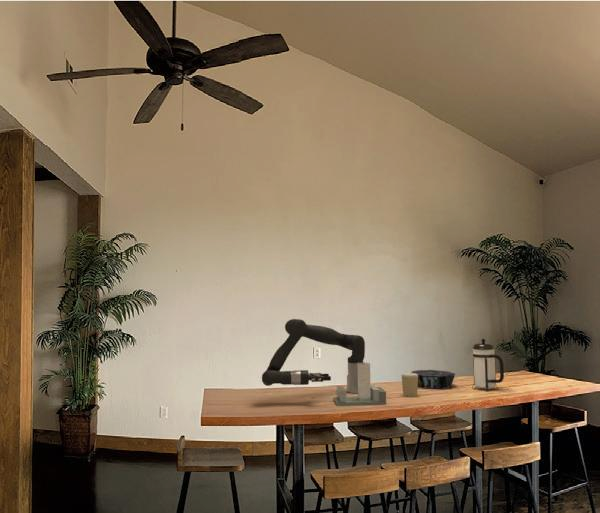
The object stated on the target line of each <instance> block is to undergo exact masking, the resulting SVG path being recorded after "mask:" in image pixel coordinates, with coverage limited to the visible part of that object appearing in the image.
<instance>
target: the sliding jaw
mask: <svg viewBox="0 0 600 513" xmlns="http://www.w3.org/2000/svg"><path fill="white" fill-rule="evenodd" d="M336 397H337V398H338V399H339V401H340V402H346V397H347V389H345V387H344V386H342V385H338V386H336Z"/></svg>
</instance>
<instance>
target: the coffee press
mask: <svg viewBox="0 0 600 513" xmlns="http://www.w3.org/2000/svg"><path fill="white" fill-rule="evenodd" d="M471 349H472V365H473V366H472V367H473V385H472V386H471V388H472V390H475V389H476V388H477V389H478V388H480V389H485V392H489V391H490V390H489V389H495V390H499V387H498V386H497V384H498V383H501V382H503V381H504V377H505V376H504V375H505V374H504V373H505V371H504V370H505V369H504V368H505V367H504V361H503V358H502V357H501V356H500V355H498V354H495V350H496V347H495V345H494V344H492V343H489V342H486V339H485V338H482V339H481V342H476V343H474V344H473V345H472V348H471ZM496 359H497V360H498V362H499V379H497V378H496V375H497V374H496ZM474 386H475V387H474Z"/></svg>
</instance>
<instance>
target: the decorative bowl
mask: <svg viewBox="0 0 600 513" xmlns="http://www.w3.org/2000/svg"><path fill="white" fill-rule="evenodd" d="M410 373H415V374H418V387H420V388H421V389H431V390H436V389H437V390H439V389H440V390H441V389H442V390H443V389H448V388H451V387H452V385H453V382H454V379H455V376H456V373H455V372H451V371H447V370H439V369H436V370H435V369H419V370H418V369H417V370H412V371H411V372H410Z"/></svg>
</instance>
